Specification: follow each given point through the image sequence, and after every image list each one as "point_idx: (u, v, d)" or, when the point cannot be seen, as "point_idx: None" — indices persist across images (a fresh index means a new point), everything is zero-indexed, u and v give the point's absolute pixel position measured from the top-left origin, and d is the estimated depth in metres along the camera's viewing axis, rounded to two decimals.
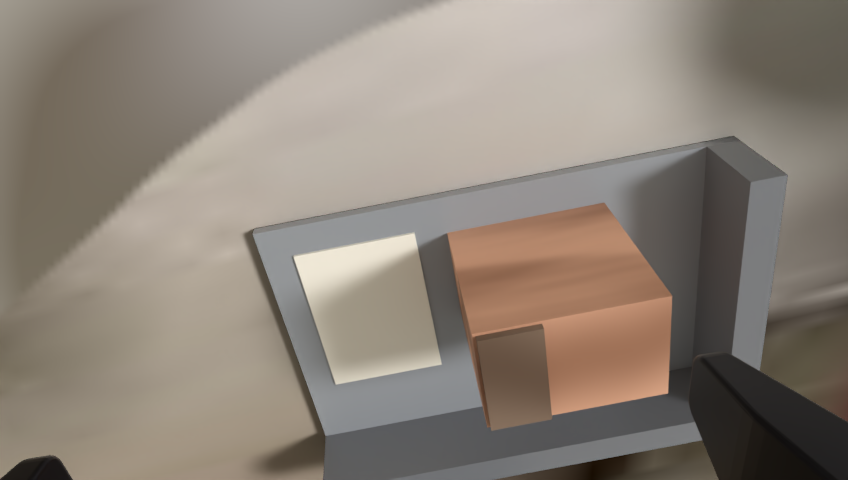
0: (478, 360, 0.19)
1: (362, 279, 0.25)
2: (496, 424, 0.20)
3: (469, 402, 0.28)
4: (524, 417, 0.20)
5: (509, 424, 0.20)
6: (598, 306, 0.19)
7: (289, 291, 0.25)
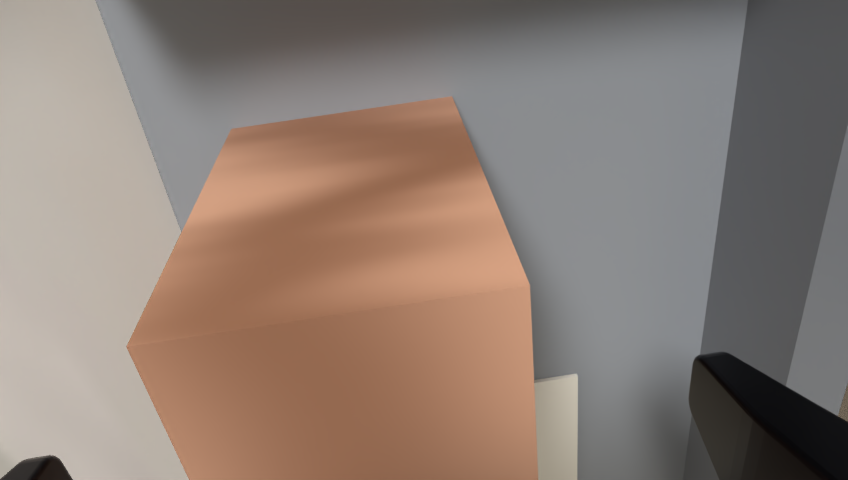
0: None
1: None
2: None
3: (687, 328, 0.15)
4: None
5: None
6: None
7: None
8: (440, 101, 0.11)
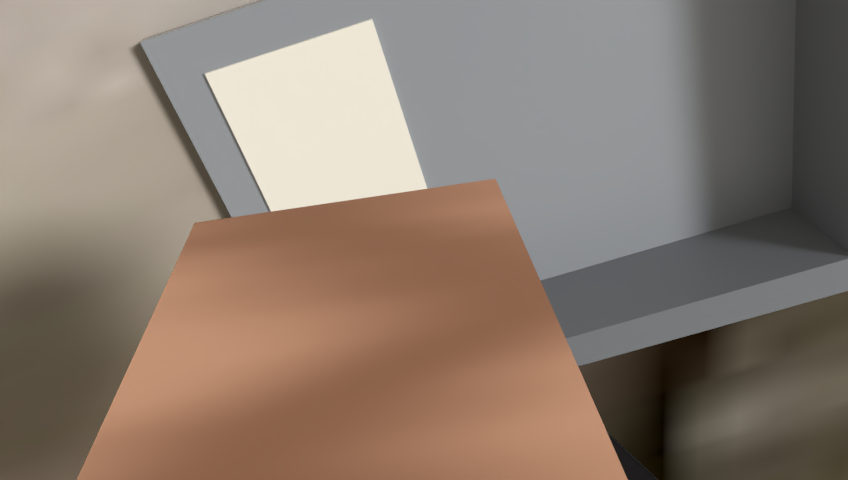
0: None
1: (309, 104, 0.17)
2: None
3: None
4: None
5: None
6: None
7: (210, 132, 0.17)
8: (480, 186, 0.08)
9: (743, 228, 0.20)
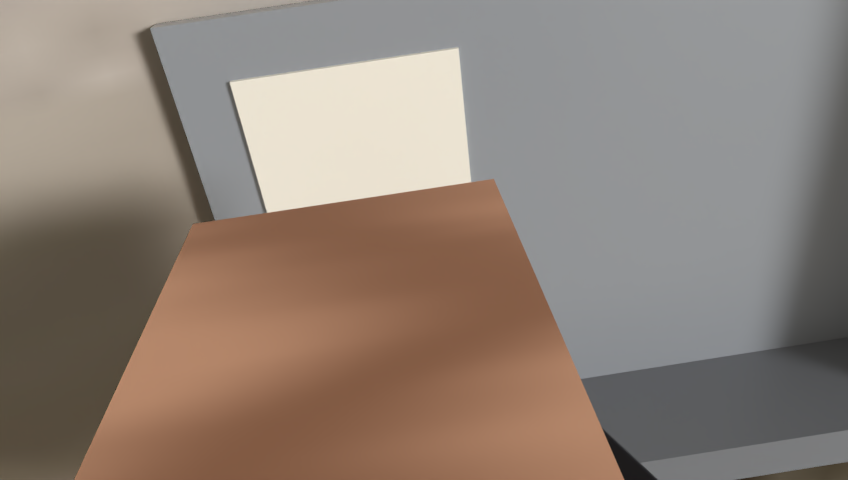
0: None
1: (356, 139, 0.14)
2: None
3: None
4: None
5: None
6: None
7: (222, 156, 0.13)
8: (478, 187, 0.08)
9: (823, 350, 0.18)
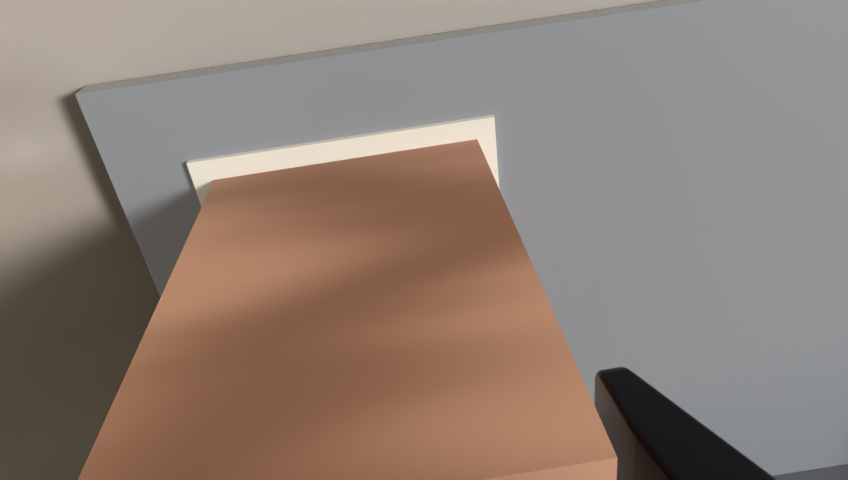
0: None
1: None
2: None
3: None
4: None
5: None
6: None
7: None
8: (463, 146, 0.09)
9: None
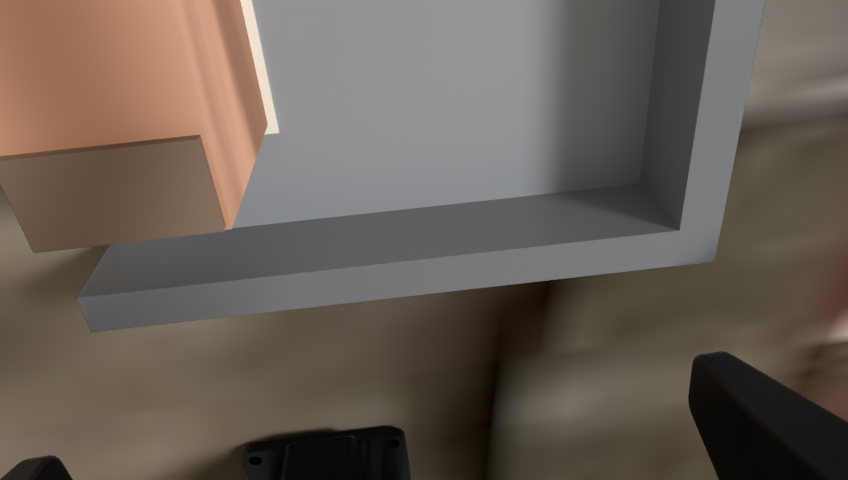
0: None
1: None
2: (208, 224, 0.13)
3: (323, 207, 0.20)
4: (192, 184, 0.12)
5: (209, 206, 0.13)
6: None
7: None
8: None
9: (589, 194, 0.20)
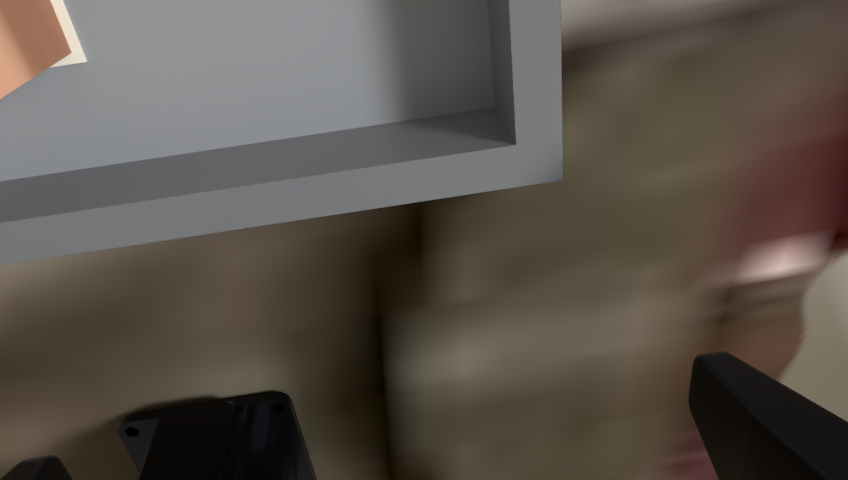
0: None
1: None
2: None
3: (151, 145, 0.19)
4: None
5: None
6: None
7: None
8: None
9: (437, 119, 0.19)
